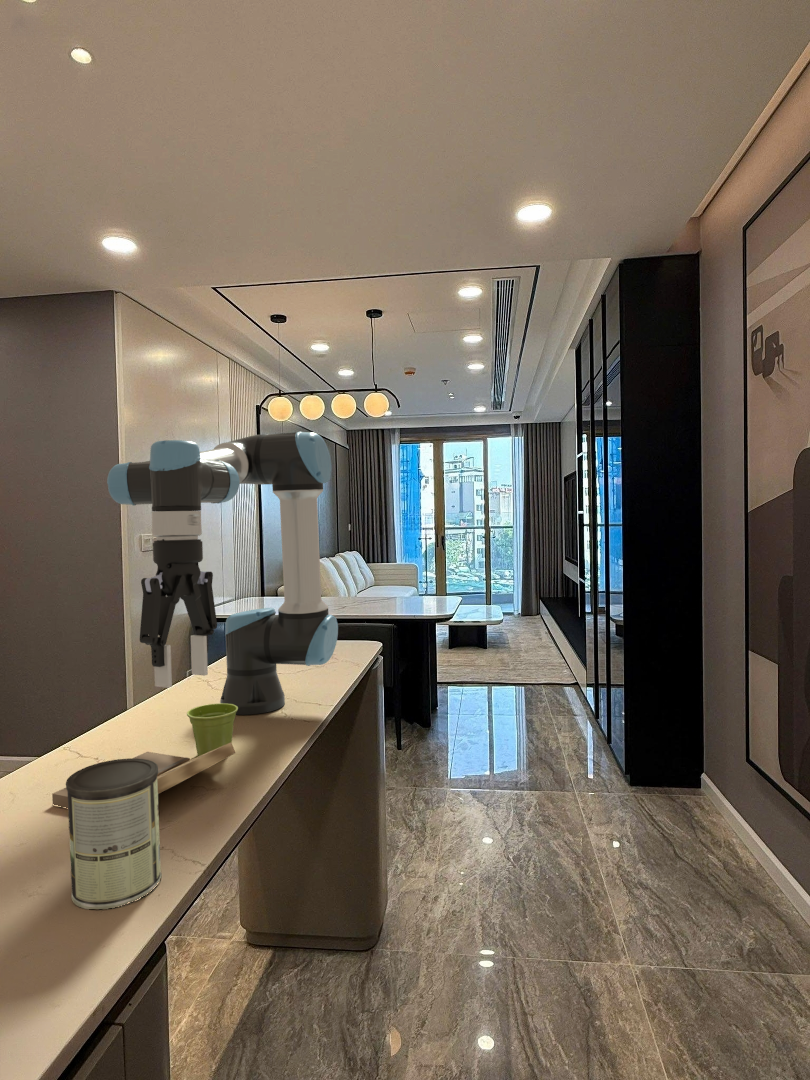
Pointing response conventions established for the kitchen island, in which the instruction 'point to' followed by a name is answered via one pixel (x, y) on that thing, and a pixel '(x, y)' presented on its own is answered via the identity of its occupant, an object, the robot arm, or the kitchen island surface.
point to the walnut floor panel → (161, 760)
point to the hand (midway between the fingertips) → (182, 680)
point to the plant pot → (212, 725)
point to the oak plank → (193, 767)
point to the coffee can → (113, 832)
